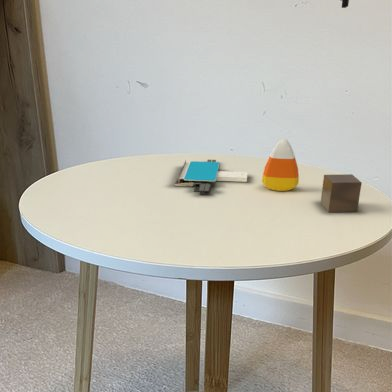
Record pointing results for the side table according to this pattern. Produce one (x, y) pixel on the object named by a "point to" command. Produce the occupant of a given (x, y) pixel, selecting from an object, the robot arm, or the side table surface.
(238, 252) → the side table surface
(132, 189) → the side table surface
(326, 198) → the walnut block
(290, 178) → the candy corn
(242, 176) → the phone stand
